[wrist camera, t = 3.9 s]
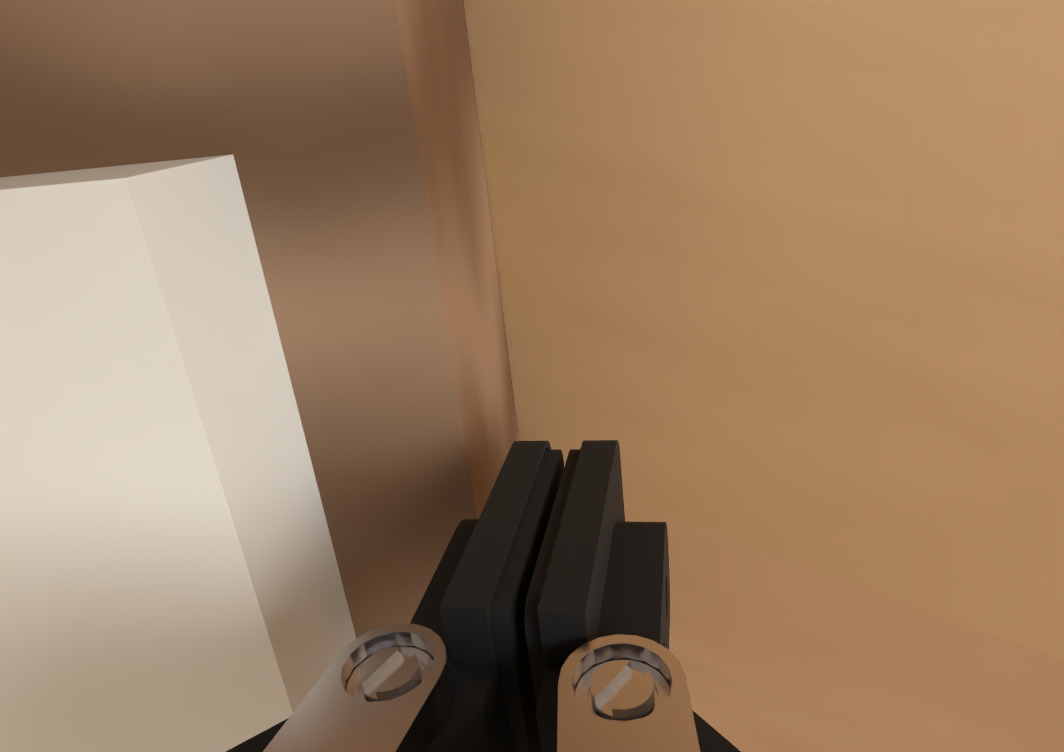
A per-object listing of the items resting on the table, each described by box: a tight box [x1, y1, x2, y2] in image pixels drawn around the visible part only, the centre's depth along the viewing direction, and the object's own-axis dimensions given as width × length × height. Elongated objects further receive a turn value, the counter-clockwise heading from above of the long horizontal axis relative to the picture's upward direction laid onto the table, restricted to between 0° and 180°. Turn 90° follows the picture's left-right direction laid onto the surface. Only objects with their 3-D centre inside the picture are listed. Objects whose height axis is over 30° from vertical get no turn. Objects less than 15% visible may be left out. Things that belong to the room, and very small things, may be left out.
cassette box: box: [0, 154, 356, 752], centre depth 13 cm, size 12×8×2 cm, turn 6°
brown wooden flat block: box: [0, 0, 519, 639], centre depth 16 cm, size 18×16×4 cm
